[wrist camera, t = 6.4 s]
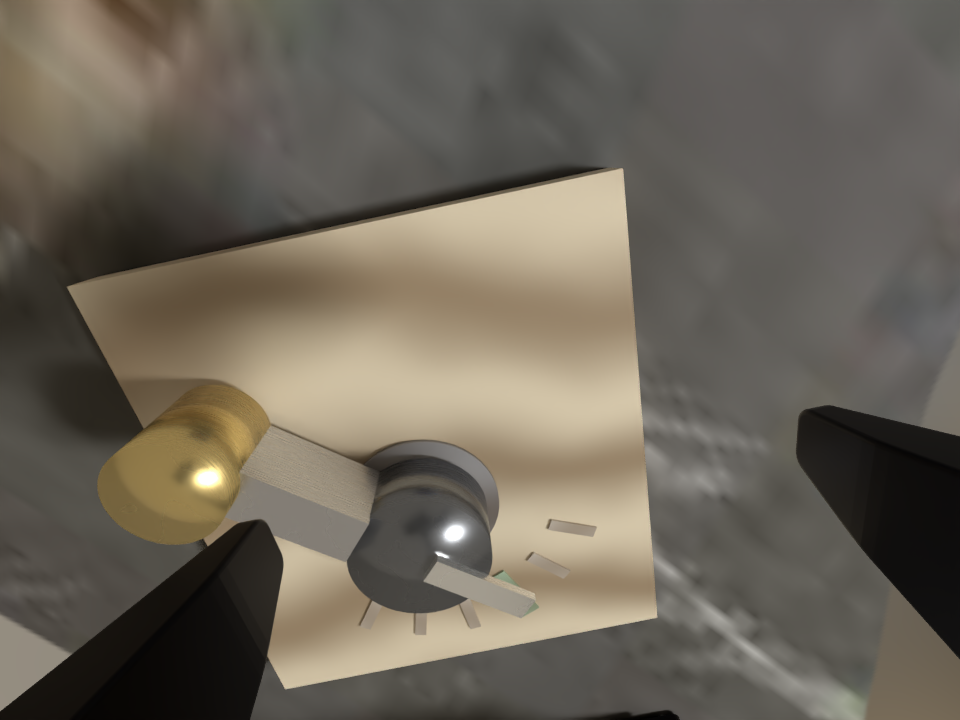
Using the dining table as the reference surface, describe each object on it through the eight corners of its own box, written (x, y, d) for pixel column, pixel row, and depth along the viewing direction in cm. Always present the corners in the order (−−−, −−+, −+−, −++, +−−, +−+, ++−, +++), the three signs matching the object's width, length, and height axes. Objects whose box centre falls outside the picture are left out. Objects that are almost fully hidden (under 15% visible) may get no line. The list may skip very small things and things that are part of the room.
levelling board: (645, 591, 24) (659, 622, 22) (294, 659, 24) (283, 694, 23) (608, 167, 16) (625, 168, 15) (98, 276, 17) (60, 288, 15)
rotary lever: (551, 508, 19) (574, 585, 16) (487, 591, 21) (495, 679, 17) (197, 348, 16) (124, 401, 12) (152, 461, 17) (76, 537, 14)
